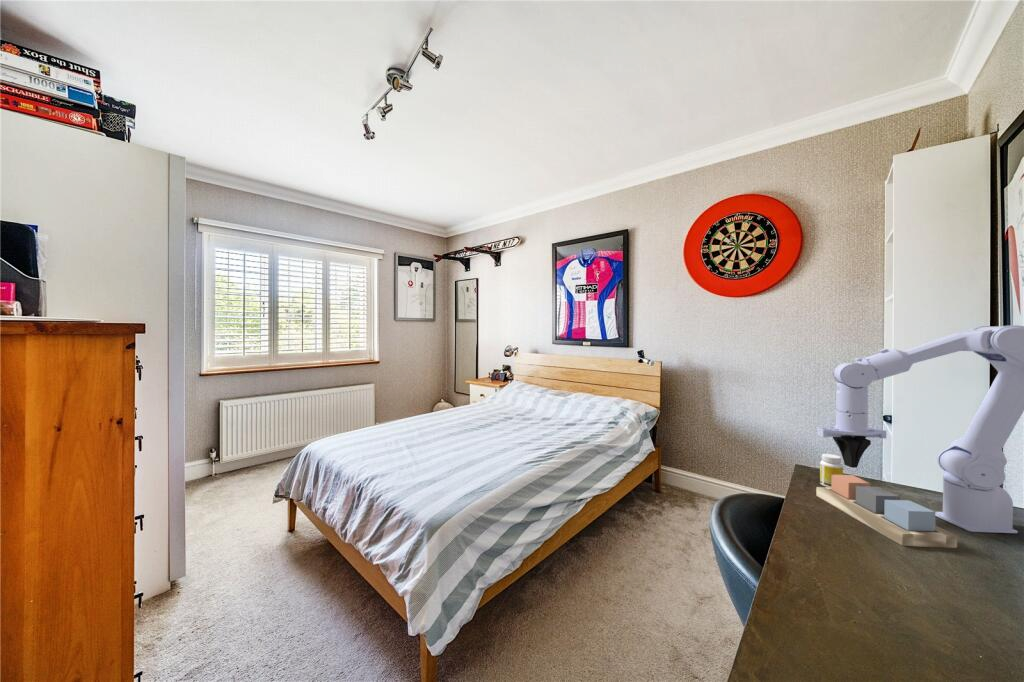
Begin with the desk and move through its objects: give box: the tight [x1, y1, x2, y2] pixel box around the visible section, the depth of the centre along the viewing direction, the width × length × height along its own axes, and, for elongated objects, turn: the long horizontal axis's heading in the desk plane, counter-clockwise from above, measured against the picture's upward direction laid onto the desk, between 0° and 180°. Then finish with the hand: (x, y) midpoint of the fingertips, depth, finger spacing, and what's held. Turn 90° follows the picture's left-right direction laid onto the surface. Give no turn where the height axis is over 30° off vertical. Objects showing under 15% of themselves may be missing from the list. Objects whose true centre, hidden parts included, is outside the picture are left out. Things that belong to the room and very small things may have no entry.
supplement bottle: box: [819, 453, 844, 487], centre depth 99 cm, size 5×5×8 cm
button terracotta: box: [831, 474, 872, 499], centre depth 89 cm, size 5×5×4 cm
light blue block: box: [884, 499, 936, 532], centre depth 75 cm, size 5×5×4 cm
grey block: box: [856, 486, 901, 514], centre depth 82 cm, size 5×5×4 cm
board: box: [815, 486, 958, 549], centre depth 82 cm, size 10×22×2 cm, turn 176°
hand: (850, 466), depth 89 cm, fingers closed
